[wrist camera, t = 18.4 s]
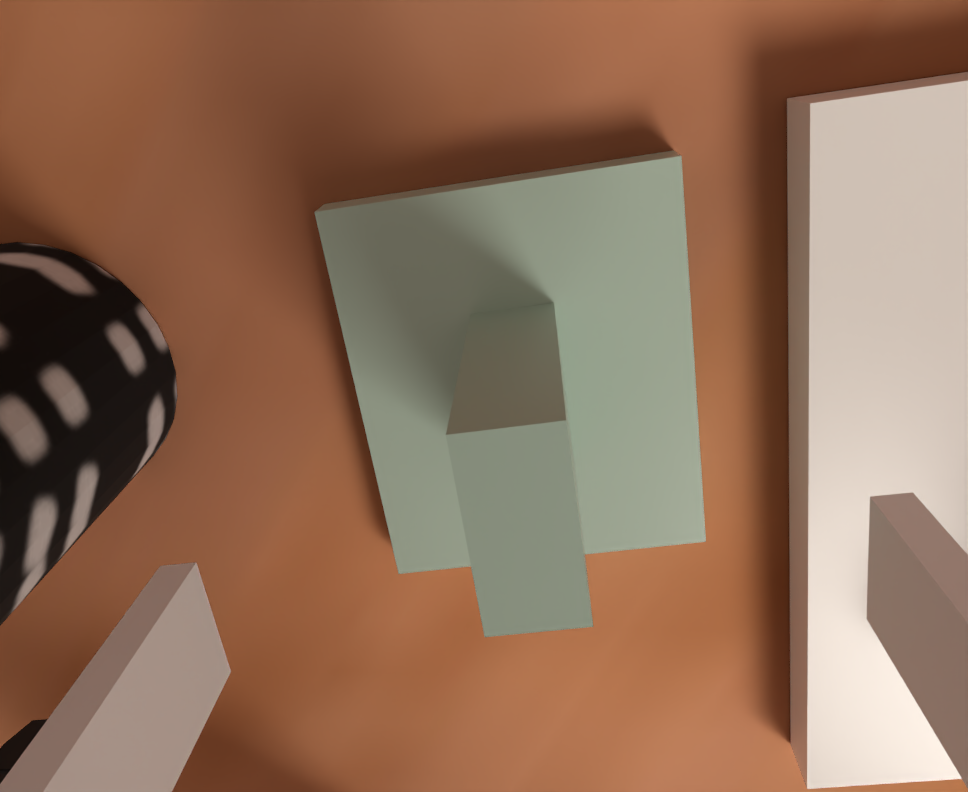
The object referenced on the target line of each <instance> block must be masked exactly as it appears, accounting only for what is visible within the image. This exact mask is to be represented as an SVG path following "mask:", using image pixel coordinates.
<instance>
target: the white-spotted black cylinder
mask: <svg viewBox="0 0 968 792" xmlns="http://www.w3.org/2000/svg"><path fill="white" fill-rule="evenodd" d="M176 401H177V385H176V372H175V368H174V365H173V361H172V357H171V354H170V350H169V347H168V345H167V343H166V341H165V339H164V337H163V335H162V333H161V331H160V329H159V327H158V325H157V323H156V322H155V320H154V319H153V318H152V316H151V315H150V314H149V312H148V311H147V309H146V308H145V307H144V305H143V304H142V302H141V301H140V300H139V299H138V298H137V297H136V296H135V295H134V294H132V293H131V292H130V291H129V290H128V289H127V288H126V287H125V286H124V285H123V284H122V283H121V282H120V281H119V280H117V279H116V278H114V277H113V276H112V275H110V274H109V273H107V272H106V271H105V270H103V269H102V268H100V267H99V266H98V265H96V264H94V263H91V262H89V261H87V260H85V259H83V258H81V257H79V256H77V255H75V254H73V253H71V252H67V251H64V250H60V249H57V248H53V247H50V246H46V245H40V244H29V243H19V242H16V243H6V244H0V625H1V624H2V623H3V622H4V621H5V620H6V619H7V618H8V616H9V615H10V614H11V613H12V612H13V611H14V610H15V609H16V608H17V606H18V605H19V604H20V603H21V602H22V601H23V600H24V599H25V598H26V596H27V595H28V594H29V593H30V592H31V591H32V590H33V589H34V588H35V586H36V585H37V584H38V583H39V582H40V581H41V580H42V579H43V578H44V576H45V575H46V574H47V573H48V572H49V571H50V570H51V569H52V568H53V566H54V565H55V564H56V563H57V562H58V561H59V560H60V559H61V558H62V556H63V555H64V554H65V553H66V552H67V551H68V550H69V549H70V548H71V546H72V545H73V544H74V543H75V542H76V541H77V540H78V539H79V538H80V537H81V535H82V534H83V533H84V532H85V531H86V530H87V529H88V528H89V527H90V525H91V524H92V523H93V522H94V521H95V520H96V519H97V518H98V517H99V515H100V514H101V513H102V512H103V511H104V510H105V509H106V508H107V507H108V505H109V504H110V503H111V502H112V501H113V500H114V499H115V498H116V497H117V495H118V494H119V493H120V492H121V491H122V490H123V489H124V488H125V487H126V485H127V484H128V483H129V482H130V481H131V480H132V479H133V478H134V477H135V475H136V474H137V473H138V472H139V471H140V470H141V469H142V468H143V467H144V465H145V464H146V463H147V462H148V461H149V460H150V459H151V458H152V457H153V455H154V454H155V453H156V451H157V450H158V449H159V447H160V446H161V444H162V443H163V442H164V440H165V439H166V437H167V434H168V432H169V429H170V427H171V424H172V422H173V419H174V414H175V408H176Z"/></svg>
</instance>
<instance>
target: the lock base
mask: <svg viewBox="0 0 968 792" xmlns="http://www.w3.org/2000/svg"><path fill="white" fill-rule="evenodd" d="M787 203H788V379H789V556H790V732H791V747H792V750H793V753H794V755H795V758H796V761H797V763H798V766H799V769H800V771H801V774H802V777H803V779H804V782H805V785H806V787H807V789H813V788H829V787H844V786H859V785H874V784H889V783H904V782H920V781H935V780H950V779H962V778H961V776H960V775H959V773H958V771H957V770H956V768H955V766H954V765H953V763H952V761H951V759H950V758H949V756H948V754H947V753H946V751H945V749H944V748H943V746H942V744H941V743H940V741H939V739H938V738H937V736H936V734H935V733H934V731H933V729H932V728H931V726H930V724H929V723H928V721H927V719H926V718H925V716H924V714H923V713H922V711H921V709H920V708H919V706H918V704H917V703H916V701H915V699H914V698H913V696H912V694H911V693H910V691H909V689H908V688H907V686H906V684H905V682H904V681H903V679H902V677H901V676H900V674H899V672H898V671H897V669H896V667H895V666H894V664H893V662H892V661H891V659H890V657H889V656H888V654H887V652H886V651H885V649H884V647H883V646H882V644H881V642H880V641H879V639H878V637H877V636H876V634H875V632H874V631H873V629H872V627H871V626H870V624H869V622H868V621H867V619H866V617H867V582H868V547H869V512H870V496H881V495H891V494H901V493H911V492H913V493H914V494H915V495H916V496H917V498H918V499H919V500H920V501H921V502H922V503H923V504H924V506H925V507H926V508H927V509H928V510H929V511H930V512H931V514H932V515H933V516H934V517H935V518H936V519H937V520H938V521H939V523H940V524H941V525H942V526H943V527H944V528H945V529H946V531H947V532H948V533H949V534H950V535H951V536H952V537H953V539H954V540H955V541H956V542H957V543H958V544H959V545H960V547H961V548H962V549H963V550H964V551H965V552H966V553H967V554H968V72H963V73H956V74H949V75H942V76H936V77H929V78H922V79H915V80H908V81H902V82H895V83H888V84H881V85H874V86H867V87H861V88H854V89H847V90H840V91H833V92H827V93H820V94H813V95H806V96H799V97H793V98H787Z"/></svg>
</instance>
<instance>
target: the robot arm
mask: <svg viewBox="0 0 968 792" xmlns="http://www.w3.org/2000/svg"><path fill="white" fill-rule="evenodd" d="M866 619H867V621H868V622H869V624H870V626H871V627H872V629H873V631H874V632H875V634H876V636H877V637H878V639H879V641H880V642H881V644H882V646H883V647H884V649H885V651H886V652H887V654H888V656H889V657H890V659H891V661H892V662H893V664H894V666H895V667H896V669H897V671H898V672H899V674H900V676H901V677H902V679H903V681H904V682H905V684H906V686H907V688H908V689H909V691H910V693H911V694H912V696H913V698H914V699H915V701H916V703H917V704H918V706H919V708H920V709H921V711H922V713H923V714H924V716H925V718H926V719H927V721H928V723H929V724H930V726H931V728H932V729H933V731H934V733H935V734H936V736H937V738H938V739H939V741H940V743H941V744H942V746H943V748H944V749H945V751H946V753H947V754H948V756H949V758H950V759H951V761H952V763H953V765H954V766H955V768H956V770H957V771H958V773H959V775H960V776H961V778H962V780H963V781H964V783H965V785H966V786H967V788H968V554H967V553H966V552H965V551H964V550H963V549H962V548H961V547H960V545H959V544H958V543H957V542H956V541H955V540H954V539H953V537H952V536H951V535H950V534H949V533H948V532H947V531H946V529H945V528H944V527H943V526H942V525H941V524H940V523H939V521H938V520H937V519H936V518H935V517H934V516H933V515H932V514H931V512H930V511H929V510H928V509H927V508H926V507H925V506H924V504H923V503H922V502H921V501H920V500H919V499H918V498H917V496H916V495H915V494H914V493H913V492H911V493H901V494H891V495H881V496H870V512H869V547H868V582H867V617H866ZM230 673H231V670H230V667H229V664H228V661H227V657H226V654H225V651H224V648H223V645H222V642H221V639H220V635H219V632H218V629H217V626H216V623H215V620H214V617H213V613H212V610H211V607H210V604H209V601H208V598H207V594H206V591H205V588H204V585H203V582H202V579H201V576H200V572H199V569H198V566H197V563H196V562H194V563H184V564H174V565H163V566H160V567H159V568H158V570H157V571H156V572H155V574H154V575H153V576H152V578H151V579H150V581H149V582H148V583H147V585H146V586H145V587H144V589H143V590H142V591H141V593H140V594H139V596H138V597H137V598H136V600H135V601H134V602H133V604H132V605H131V606H130V608H129V609H128V611H127V612H126V613H125V615H124V616H123V617H122V619H121V620H120V621H119V623H118V624H117V626H116V627H115V628H114V630H113V631H112V632H111V634H110V635H109V636H108V638H107V639H106V641H105V642H104V643H103V645H102V646H101V647H100V649H99V650H98V651H97V653H96V654H95V655H94V657H93V658H92V660H91V661H90V662H89V664H88V665H87V666H86V668H85V669H84V670H83V672H82V673H81V675H80V676H79V677H78V679H77V680H76V681H75V683H74V684H73V685H72V687H71V688H70V690H69V691H68V692H67V694H66V695H65V696H64V698H63V699H62V700H61V702H60V703H59V705H58V706H57V707H56V709H55V710H54V711H53V713H52V714H51V715H50V717H49V718H48V719H46V720H33V721H31V722H30V723H29V724H28V725H26V726H25V727H24V728H23V729H22V730H20V731H19V732H18V733H17V734H16V735H14V736H13V737H12V738H11V739H10V740H8V741H7V742H6V743H5V744H3V746H2V747H1V748H0V792H172V791H173V789H174V787H175V785H176V782H177V780H178V778H179V776H180V774H181V772H182V770H183V768H184V766H185V764H186V762H187V760H188V758H189V756H190V754H191V752H192V750H193V748H194V746H195V744H196V742H197V740H198V738H199V736H200V734H201V732H202V730H203V728H204V725H205V723H206V721H207V719H208V717H209V715H210V713H211V711H212V709H213V707H214V705H215V703H216V701H217V699H218V697H219V695H220V693H221V691H222V689H223V687H224V685H225V683H226V681H227V679H228V677H229V675H230Z"/></svg>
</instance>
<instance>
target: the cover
mask: <svg viewBox="0 0 968 792" xmlns="http://www.w3.org/2000/svg"><path fill="white" fill-rule="evenodd" d="M314 213H315V217H316V222H317V226H318V230H319V234H320V239H321V243H322V247H323V252H324V256H325V260H326V264H327V269H328V273H329V277H330V282H331V286H332V290H333V294H334V299H335V303H336V307H337V312H338V316H339V320H340V324H341V329H342V333H343V337H344V342H345V346H346V350H347V354H348V359H349V363H350V367H351V372H352V376H353V380H354V384H355V389H356V393H357V397H358V402H359V406H360V410H361V414H362V419H363V423H364V427H365V432H366V436H367V440H368V444H369V449H370V453H371V457H372V462H373V466H374V470H375V474H376V479H377V483H378V487H379V492H380V496H381V500H382V504H383V509H384V513H385V517H386V522H387V526H388V530H389V534H390V539H391V543H392V547H393V552H394V556H395V560H396V564H397V569H398V573H399V574H403V573H412V572H422V571H431V570H441V569H450V568H460V567H469V566H471V569H472V574H473V579H474V584H475V589H476V594H477V600H478V605H479V610H480V615H481V620H482V626H483V631H484V636H485V637H491V636H502V635H512V634H522V633H533V632H543V631H554V630H564V629H574V628H585V627H593V620H592V612H591V603H590V594H589V585H588V577H587V568H586V559H585V554H593V553H602V552H612V551H621V550H631V549H640V548H650V547H659V546H669V545H678V544H688V543H697V542H706V535H705V520H704V504H703V488H702V473H701V457H700V441H699V426H698V410H697V394H696V378H695V363H694V347H693V331H692V316H691V300H690V284H689V269H688V253H687V237H686V221H685V206H684V190H683V174H682V159H681V155H679V154H678V153H677V152H675V151H674V150H673V151H666V152H660V153H653V154H647V155H640V156H634V157H627V158H621V159H614V160H608V161H601V162H595V163H588V164H582V165H575V166H569V167H562V168H556V169H549V170H543V171H536V172H530V173H523V174H517V175H510V176H504V177H497V178H491V179H484V180H478V181H471V182H465V183H458V184H451V185H445V186H438V187H432V188H425V189H419V190H412V191H406V192H399V193H393V194H386V195H380V196H373V197H367V198H360V199H354V200H347V201H341V202H334V203H328V204H324V205H322V206H321V207H320V208H319V209H317V210H316V211H315V212H314Z"/></svg>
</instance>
